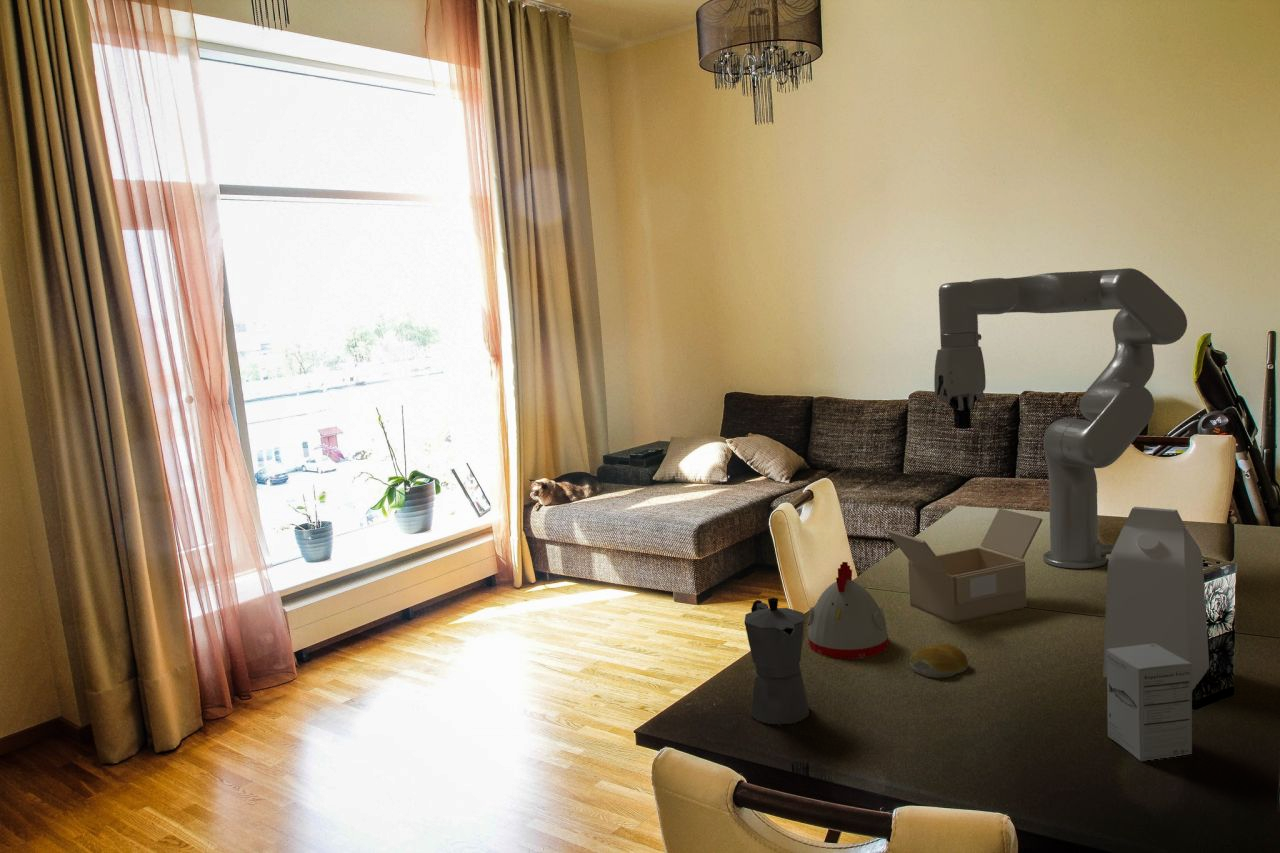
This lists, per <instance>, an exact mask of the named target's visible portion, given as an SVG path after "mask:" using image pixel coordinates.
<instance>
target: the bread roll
mask: <svg viewBox="0 0 1280 853" xmlns="http://www.w3.org/2000/svg"><path fill="white" fill-rule="evenodd" d="M909 667H910V669H911V670H912V671H913V673H916V674H918V675H921V676H924V677H928V678H930V677H931V679H945V678H950V677H953V676H955V675H957V674H962V673H963V672H965V671H966V670H967V669H968V667H969V661H968V658H967V655H966V653H964V652H963V651H962V650H961V649H960V648H958V647H957V646H955V645H952V644H949V643H938V644H933V645H929V646H926V647H924V648H921V649H917V650H915V651H913V653H912V655H911V656H910V658H909Z"/></svg>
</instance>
